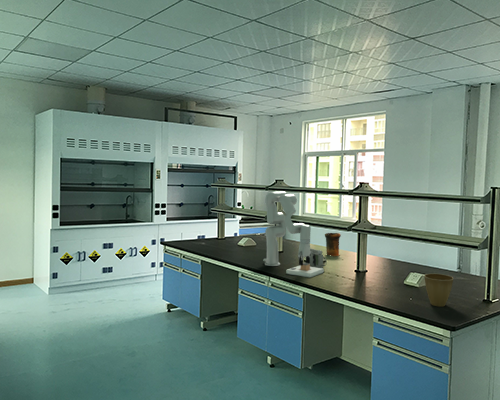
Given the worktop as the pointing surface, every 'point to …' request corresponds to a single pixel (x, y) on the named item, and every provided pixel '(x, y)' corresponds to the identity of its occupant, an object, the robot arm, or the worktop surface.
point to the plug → (305, 266)
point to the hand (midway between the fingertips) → (304, 264)
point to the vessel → (332, 243)
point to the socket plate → (309, 273)
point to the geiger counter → (316, 258)
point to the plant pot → (438, 288)
